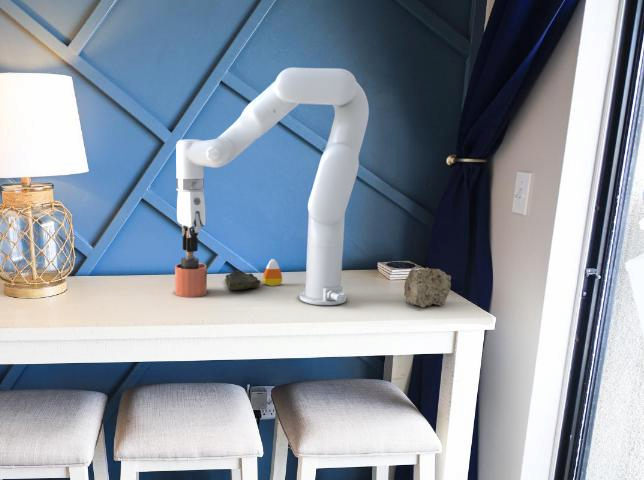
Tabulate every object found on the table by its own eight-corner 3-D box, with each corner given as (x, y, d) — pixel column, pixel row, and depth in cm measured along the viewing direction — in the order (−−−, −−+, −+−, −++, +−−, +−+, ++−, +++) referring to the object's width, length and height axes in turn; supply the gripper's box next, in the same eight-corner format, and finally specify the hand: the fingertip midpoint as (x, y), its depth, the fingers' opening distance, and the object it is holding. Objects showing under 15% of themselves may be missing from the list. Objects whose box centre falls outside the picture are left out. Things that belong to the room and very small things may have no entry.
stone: (219, 272, 199) (250, 266, 200) (221, 285, 200) (252, 280, 201) (230, 282, 181) (264, 275, 182) (232, 296, 181) (266, 290, 182)
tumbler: (211, 294, 181) (211, 267, 179) (182, 298, 178) (182, 270, 176) (198, 287, 189) (198, 261, 187) (170, 291, 186) (170, 264, 184)
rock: (397, 275, 177) (412, 263, 167) (441, 278, 177) (458, 266, 168) (399, 313, 173) (415, 303, 164) (444, 316, 174) (462, 306, 165)
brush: (201, 277, 181) (201, 231, 178) (185, 278, 179) (185, 233, 176) (194, 273, 185) (194, 229, 182) (178, 274, 183) (178, 230, 180)
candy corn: (281, 283, 193) (282, 257, 192) (283, 285, 191) (283, 259, 189) (261, 283, 193) (262, 258, 191) (263, 286, 190) (263, 260, 188)
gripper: (214, 187, 170) (214, 254, 175) (190, 182, 184) (190, 244, 189) (189, 188, 167) (189, 257, 172) (166, 183, 181) (167, 246, 186)
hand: (190, 250), depth 180 cm, fingers closed on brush
